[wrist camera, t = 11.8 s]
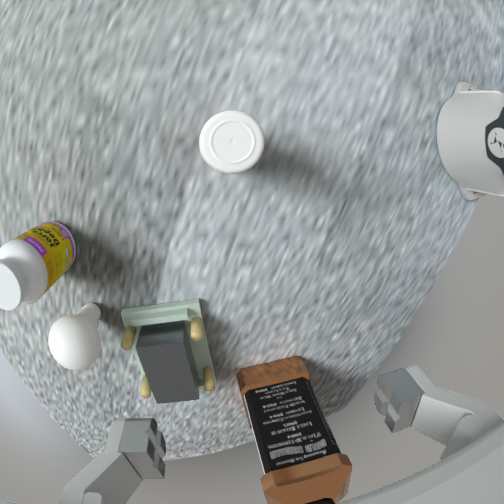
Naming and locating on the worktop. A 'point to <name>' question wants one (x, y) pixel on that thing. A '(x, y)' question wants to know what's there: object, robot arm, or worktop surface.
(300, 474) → the whiskey bottle
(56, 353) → the lightbulb
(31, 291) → the supplement bottle
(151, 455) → the robot arm
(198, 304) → the tray
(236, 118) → the sprinkles bottle
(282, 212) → the worktop surface
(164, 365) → the block
